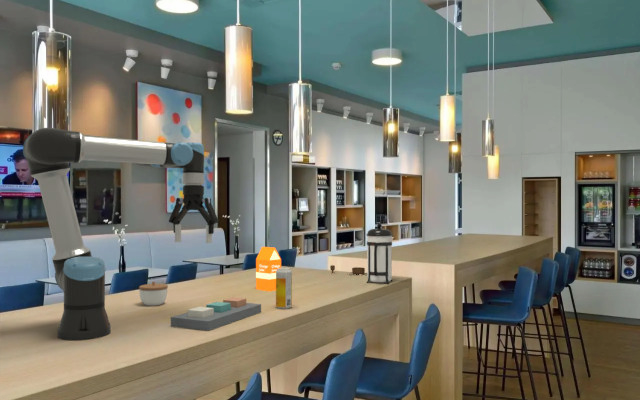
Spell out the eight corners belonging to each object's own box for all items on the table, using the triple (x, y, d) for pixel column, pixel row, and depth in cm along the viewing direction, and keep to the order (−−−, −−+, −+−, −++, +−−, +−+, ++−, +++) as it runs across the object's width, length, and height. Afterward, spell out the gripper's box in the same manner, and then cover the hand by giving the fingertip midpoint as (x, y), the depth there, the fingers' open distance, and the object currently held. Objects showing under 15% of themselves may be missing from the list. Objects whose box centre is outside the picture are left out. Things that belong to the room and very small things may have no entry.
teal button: (220, 314, 185) (220, 306, 185) (206, 313, 188) (206, 304, 188) (230, 311, 191) (230, 303, 191) (216, 310, 193) (216, 301, 193)
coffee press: (357, 282, 274) (357, 223, 274) (384, 280, 281) (384, 222, 281) (374, 287, 259) (374, 224, 259) (403, 285, 265) (403, 223, 266)
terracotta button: (237, 309, 194) (237, 301, 194) (223, 308, 197) (223, 300, 197) (246, 306, 200) (246, 298, 200) (232, 305, 202) (232, 297, 202)
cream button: (202, 320, 176) (202, 311, 176) (187, 319, 179) (187, 309, 179) (213, 317, 182) (213, 308, 182) (199, 315, 184) (199, 306, 184)
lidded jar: (138, 308, 208) (138, 284, 208) (139, 303, 218) (139, 280, 218) (167, 307, 210) (167, 283, 211) (167, 302, 221) (167, 279, 221)
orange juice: (267, 288, 256) (267, 246, 256) (281, 290, 250) (281, 247, 250) (255, 290, 250) (255, 247, 250) (269, 292, 244) (269, 248, 244)
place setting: (357, 279, 290) (357, 268, 290) (328, 276, 303) (328, 265, 303) (376, 276, 304) (376, 265, 304) (347, 273, 317) (347, 263, 317)
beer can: (283, 305, 213) (283, 267, 213) (295, 307, 209) (295, 268, 210) (272, 308, 209) (272, 268, 209) (284, 310, 205) (284, 270, 205)
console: (208, 330, 172) (208, 321, 172) (170, 326, 178) (170, 317, 178) (261, 312, 201) (261, 304, 201) (227, 308, 207) (227, 301, 207)
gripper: (228, 184, 200) (227, 242, 200) (172, 185, 209) (171, 240, 209) (216, 184, 193) (216, 244, 193) (159, 184, 202) (159, 242, 202)
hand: (193, 242), depth 201 cm, fingers open, 13 cm apart
